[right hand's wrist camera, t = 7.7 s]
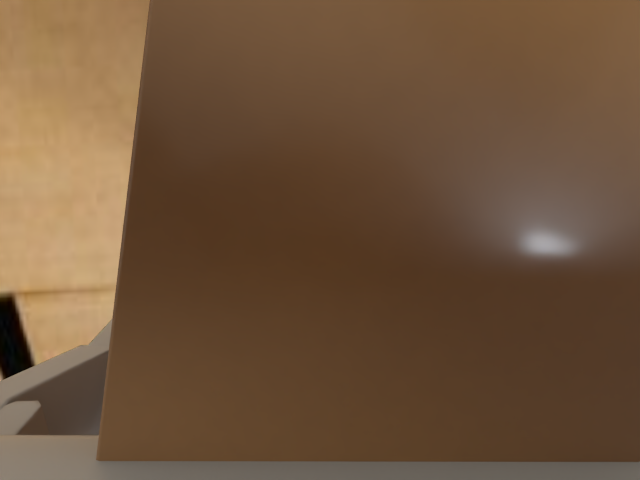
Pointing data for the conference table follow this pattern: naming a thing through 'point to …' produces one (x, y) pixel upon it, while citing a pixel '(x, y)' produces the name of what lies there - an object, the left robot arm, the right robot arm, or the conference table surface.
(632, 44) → the bar
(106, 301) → the conference table surface
